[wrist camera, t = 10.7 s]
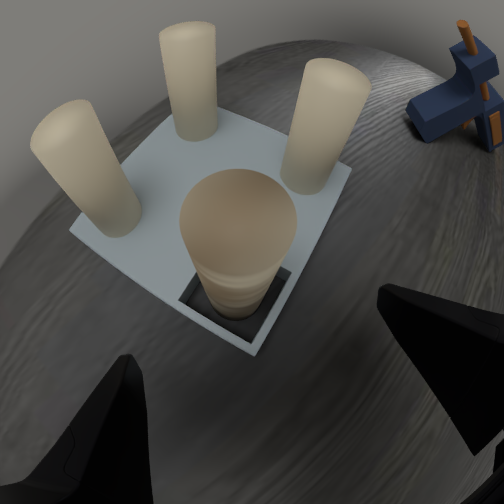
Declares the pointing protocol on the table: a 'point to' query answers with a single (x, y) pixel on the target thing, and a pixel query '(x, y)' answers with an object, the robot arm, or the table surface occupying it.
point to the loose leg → (237, 237)
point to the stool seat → (200, 168)
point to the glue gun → (463, 96)
